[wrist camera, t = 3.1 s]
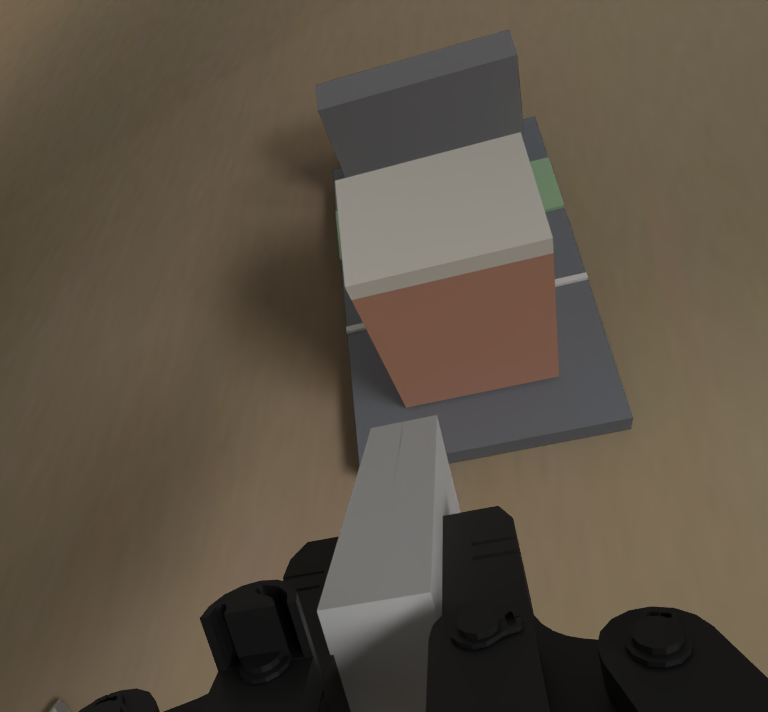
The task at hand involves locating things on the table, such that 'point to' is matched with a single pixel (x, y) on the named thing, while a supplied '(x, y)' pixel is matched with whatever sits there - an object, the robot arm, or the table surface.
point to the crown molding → (59, 707)
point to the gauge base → (573, 293)
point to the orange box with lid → (453, 270)
